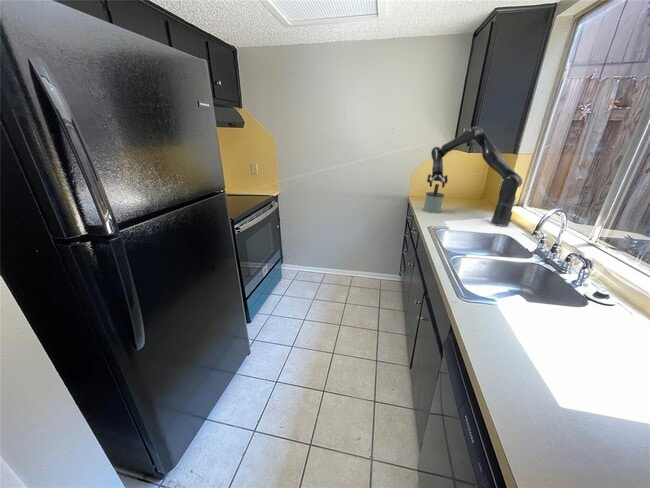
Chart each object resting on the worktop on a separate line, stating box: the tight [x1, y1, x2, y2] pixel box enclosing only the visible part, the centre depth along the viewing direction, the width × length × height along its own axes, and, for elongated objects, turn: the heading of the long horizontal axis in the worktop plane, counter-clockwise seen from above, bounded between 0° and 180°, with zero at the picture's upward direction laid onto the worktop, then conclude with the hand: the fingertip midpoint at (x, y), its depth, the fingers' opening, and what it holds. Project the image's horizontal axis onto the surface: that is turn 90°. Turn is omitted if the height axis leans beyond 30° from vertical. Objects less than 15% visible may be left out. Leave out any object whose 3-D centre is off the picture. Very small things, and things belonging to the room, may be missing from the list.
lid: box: [425, 183, 445, 198], centre depth 197 cm, size 13×13×9 cm
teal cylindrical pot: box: [423, 194, 444, 214], centre depth 201 cm, size 12×12×12 cm
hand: (437, 186), depth 195 cm, fingers open, 8 cm apart
